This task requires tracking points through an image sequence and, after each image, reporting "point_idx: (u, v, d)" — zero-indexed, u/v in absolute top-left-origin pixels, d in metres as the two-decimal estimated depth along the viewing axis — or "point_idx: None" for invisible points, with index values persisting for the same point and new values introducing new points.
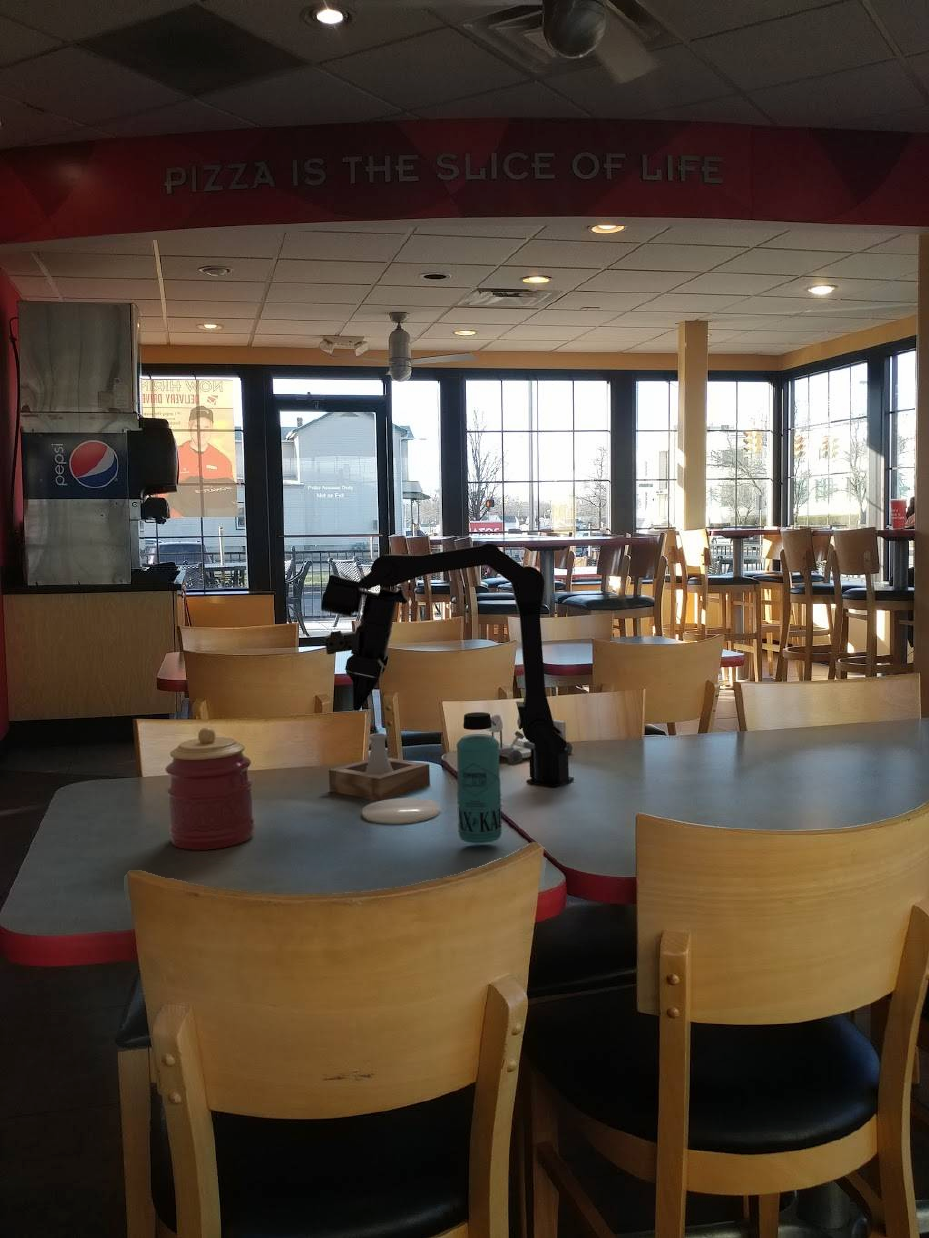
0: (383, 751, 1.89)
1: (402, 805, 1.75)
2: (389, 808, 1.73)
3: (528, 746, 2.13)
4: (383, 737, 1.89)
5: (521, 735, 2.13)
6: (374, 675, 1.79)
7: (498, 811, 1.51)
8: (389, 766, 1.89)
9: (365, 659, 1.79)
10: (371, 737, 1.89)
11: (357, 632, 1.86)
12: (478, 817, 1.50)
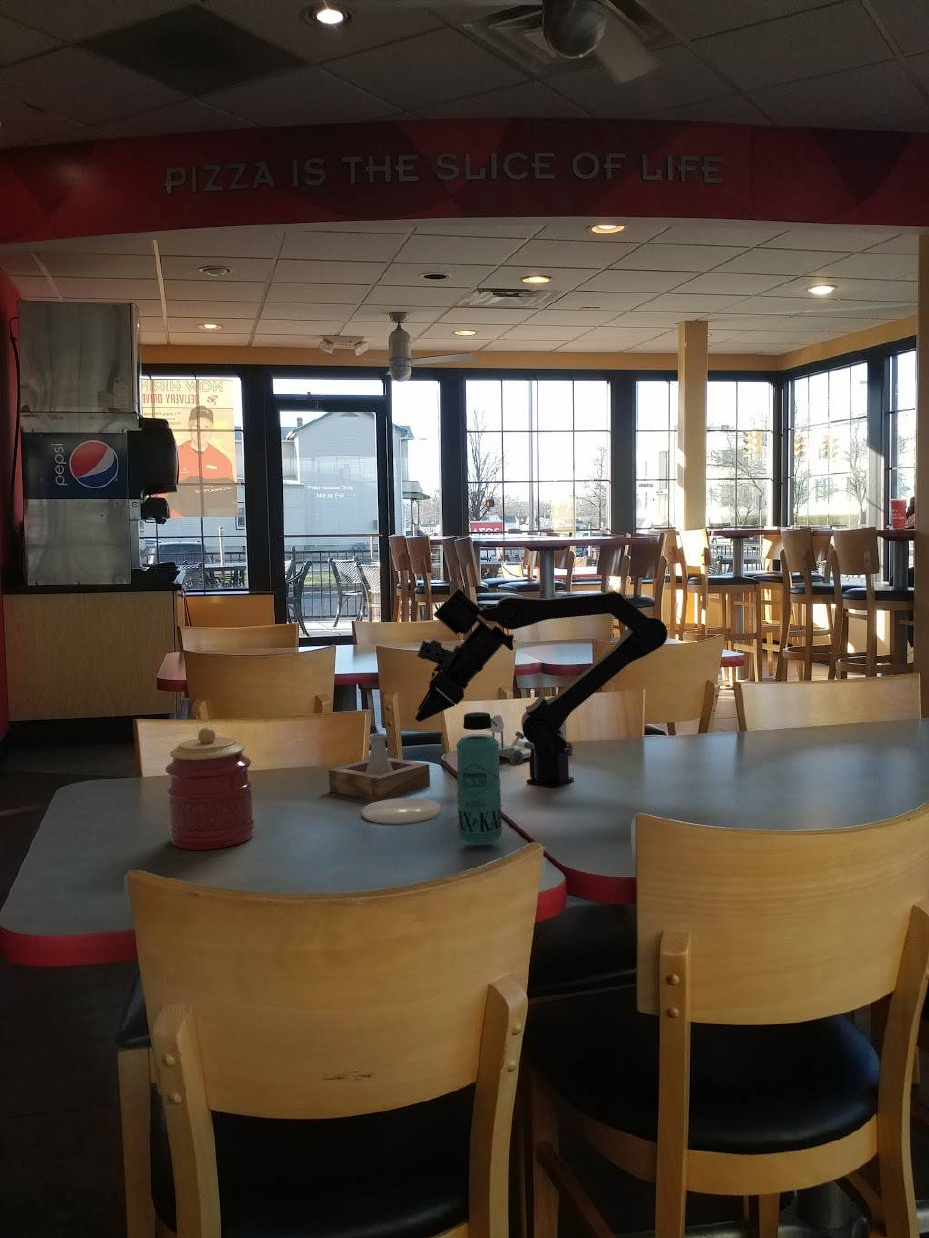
0: (383, 751, 1.89)
1: (402, 805, 1.75)
2: (389, 808, 1.73)
3: (529, 746, 2.13)
4: (383, 737, 1.89)
5: (522, 735, 2.13)
6: (453, 701, 1.80)
7: (498, 811, 1.51)
8: (389, 766, 1.89)
9: (453, 682, 1.80)
10: (371, 737, 1.89)
11: (455, 652, 1.86)
12: (478, 817, 1.50)
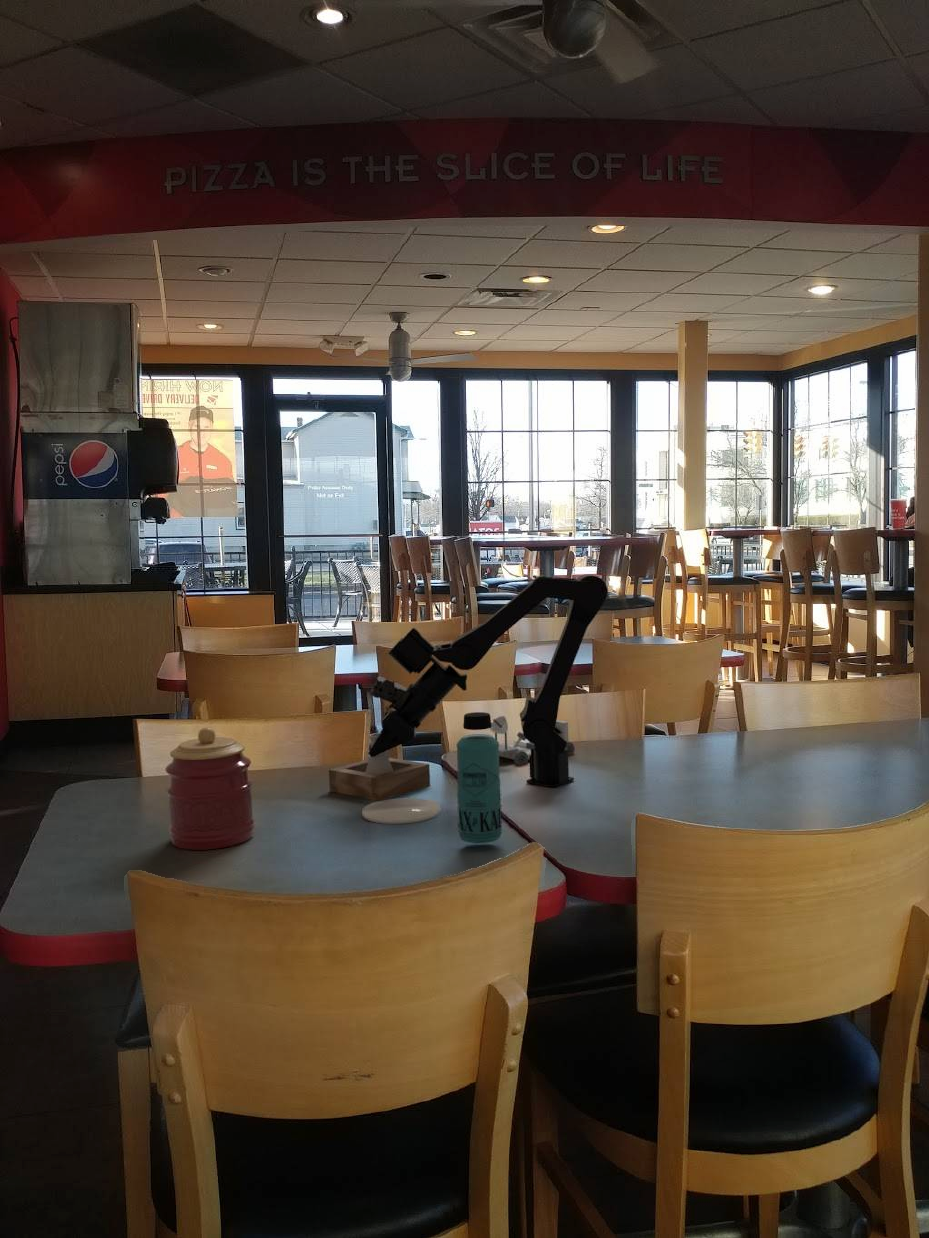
0: None
1: (402, 805, 1.75)
2: (389, 808, 1.73)
3: (531, 747, 2.12)
4: None
5: (524, 736, 2.12)
6: (404, 741, 1.80)
7: (498, 811, 1.51)
8: (389, 766, 1.89)
9: (404, 723, 1.80)
10: (371, 737, 1.89)
11: (408, 691, 1.87)
12: (478, 817, 1.50)
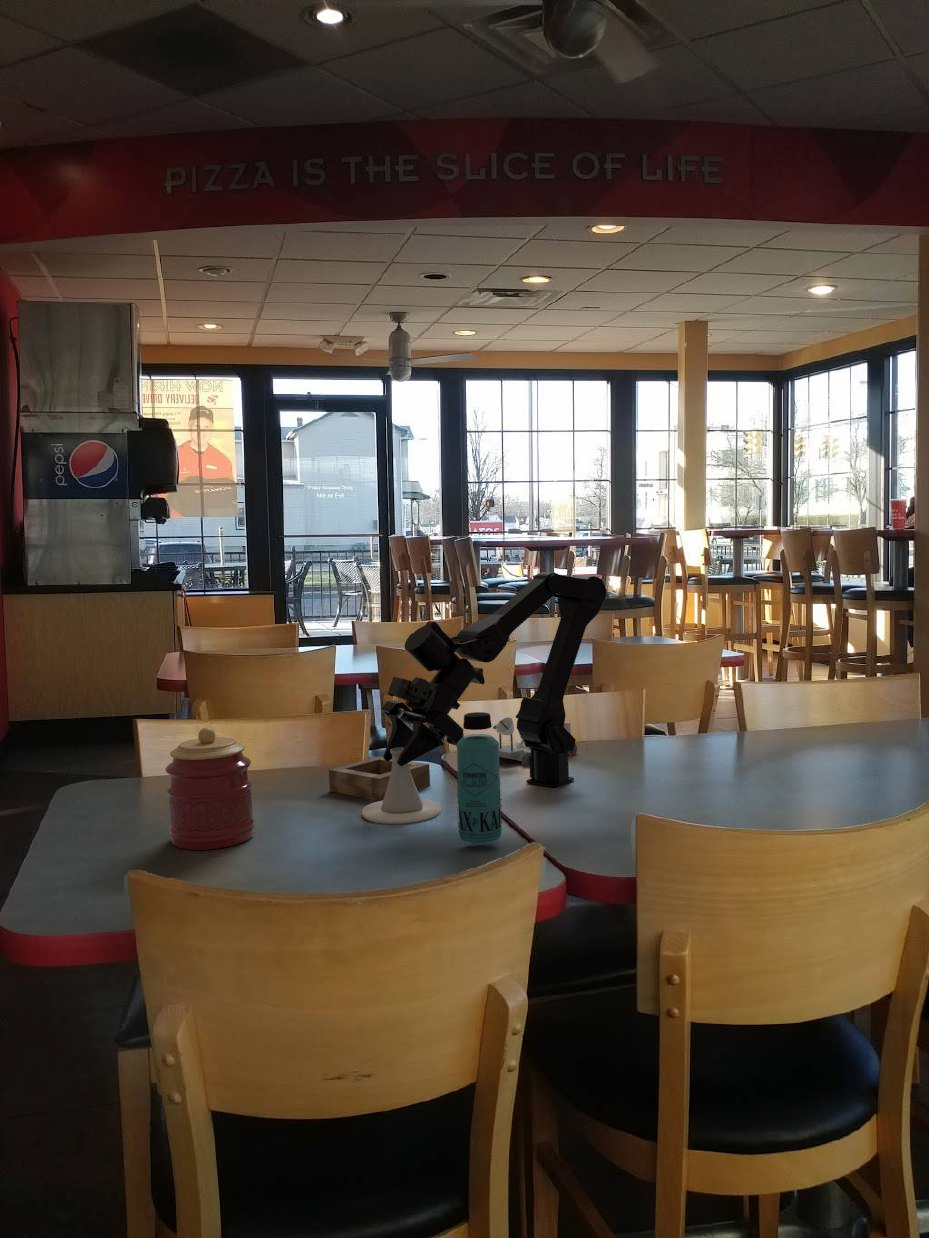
0: (408, 766, 1.72)
1: None
2: None
3: None
4: None
5: None
6: (456, 741, 1.67)
7: (498, 811, 1.51)
8: (413, 782, 1.73)
9: (454, 722, 1.67)
10: (397, 752, 1.71)
11: (435, 689, 1.73)
12: (478, 817, 1.50)
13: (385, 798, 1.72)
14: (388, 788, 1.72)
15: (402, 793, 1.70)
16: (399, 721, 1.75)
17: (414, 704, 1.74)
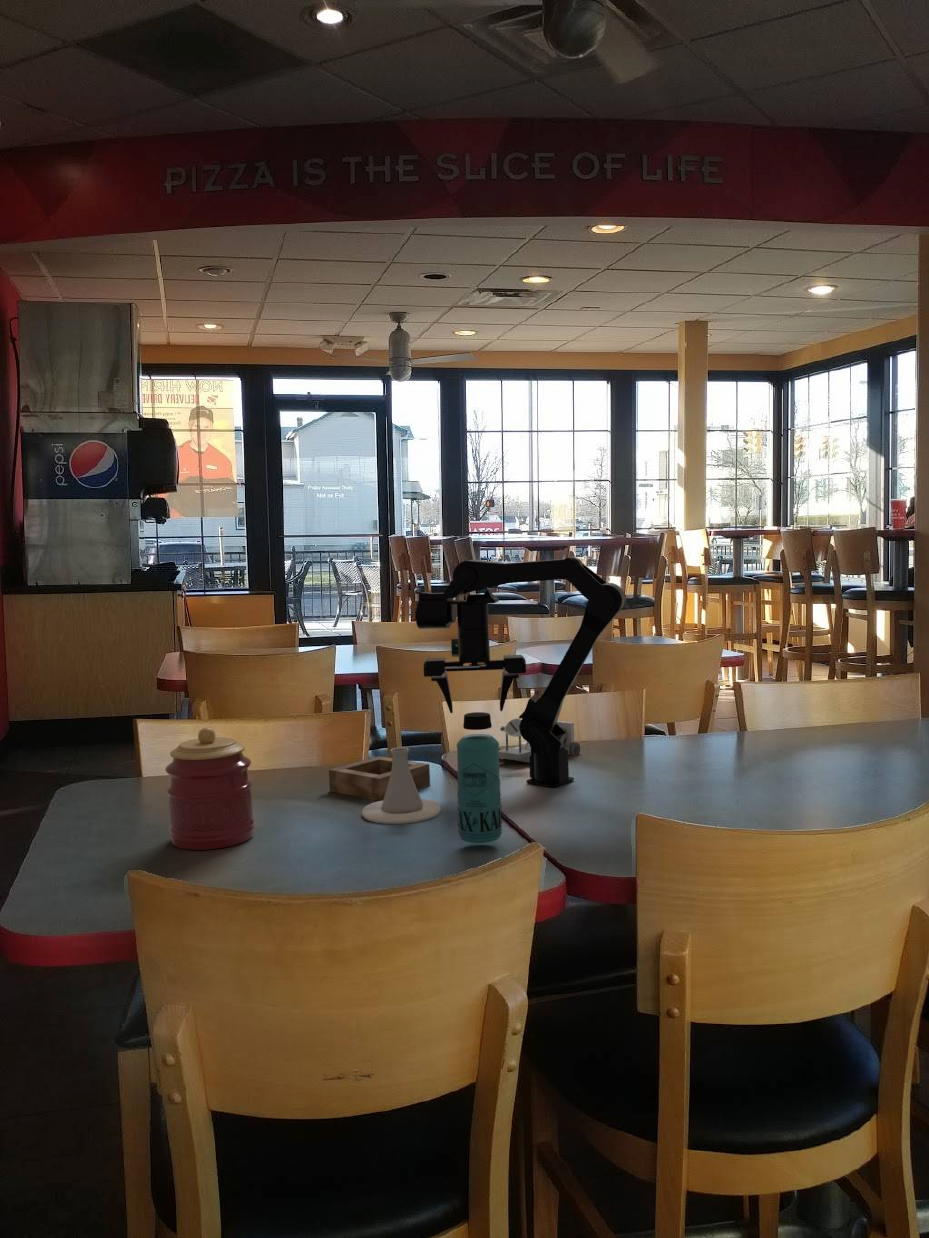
0: (408, 766, 1.72)
1: None
2: None
3: None
4: (408, 751, 1.72)
5: None
6: None
7: (498, 811, 1.51)
8: (413, 782, 1.73)
9: (426, 660, 1.92)
10: (397, 752, 1.71)
11: None
12: (478, 817, 1.50)
13: (385, 798, 1.72)
14: (388, 788, 1.72)
15: (402, 793, 1.70)
16: (502, 674, 1.94)
17: None
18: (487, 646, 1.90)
